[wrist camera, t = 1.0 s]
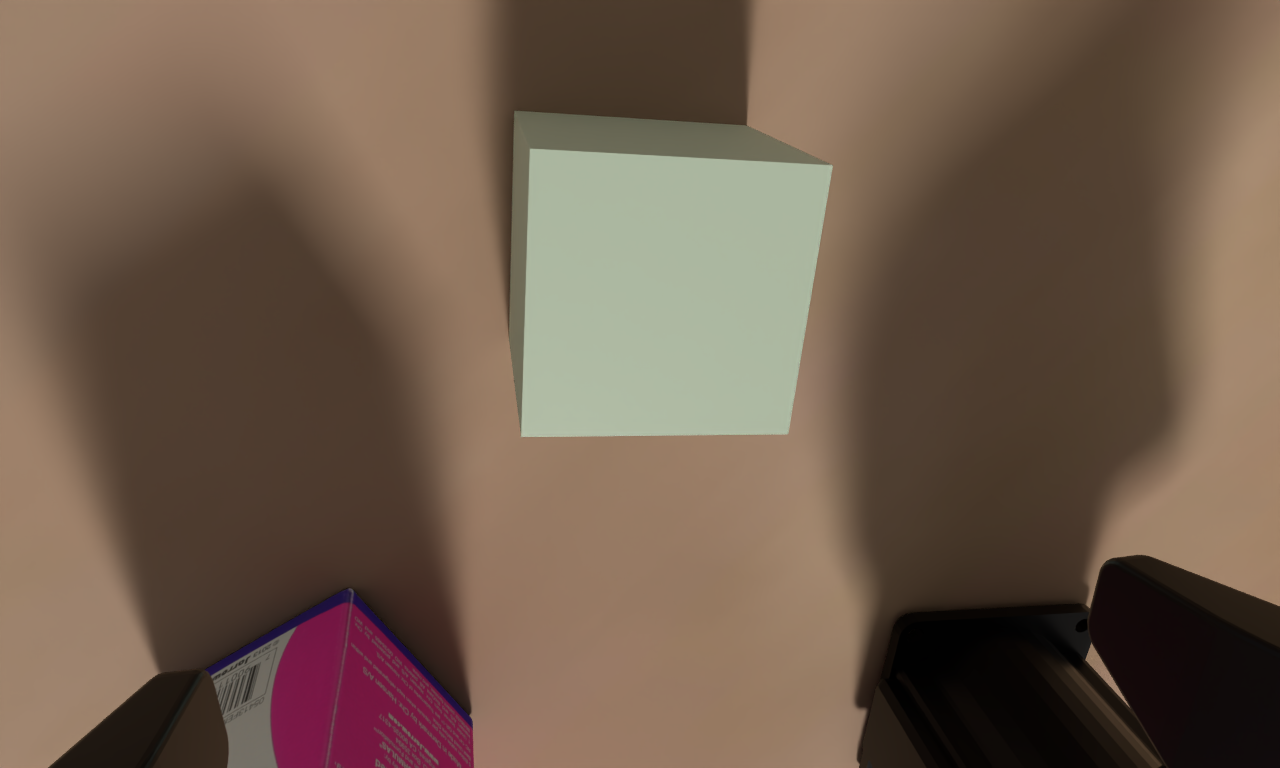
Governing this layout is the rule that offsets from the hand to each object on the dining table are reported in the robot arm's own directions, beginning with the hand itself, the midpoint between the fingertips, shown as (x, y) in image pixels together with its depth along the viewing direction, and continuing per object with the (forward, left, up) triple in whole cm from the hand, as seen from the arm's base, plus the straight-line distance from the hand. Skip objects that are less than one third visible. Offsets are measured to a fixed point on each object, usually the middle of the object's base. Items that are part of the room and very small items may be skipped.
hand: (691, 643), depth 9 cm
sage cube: (-1, -1, -12) cm, 12 cm away
